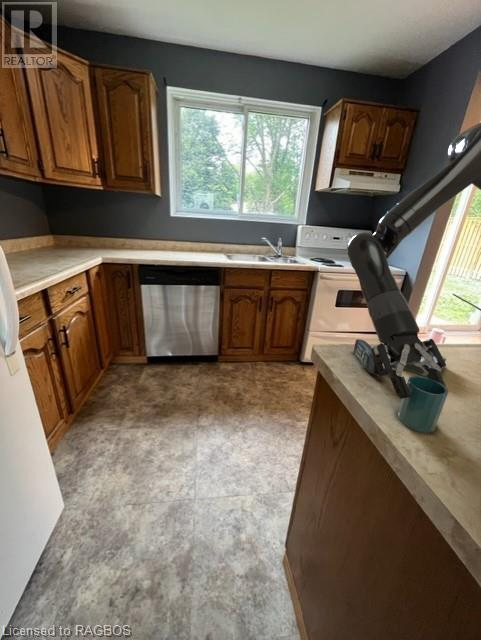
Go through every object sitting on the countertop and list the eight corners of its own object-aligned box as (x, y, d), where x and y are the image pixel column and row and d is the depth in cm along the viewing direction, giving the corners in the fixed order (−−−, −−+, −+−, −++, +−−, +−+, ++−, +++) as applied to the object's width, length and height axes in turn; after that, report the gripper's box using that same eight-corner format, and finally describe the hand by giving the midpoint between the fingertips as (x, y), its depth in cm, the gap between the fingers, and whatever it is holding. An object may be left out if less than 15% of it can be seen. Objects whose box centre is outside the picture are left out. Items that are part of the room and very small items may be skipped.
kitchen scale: (403, 353, 80) (406, 344, 79) (443, 366, 74) (447, 356, 73) (392, 366, 73) (395, 355, 72) (435, 381, 67) (439, 370, 66)
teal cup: (402, 406, 57) (413, 372, 54) (437, 421, 53) (450, 385, 50) (393, 420, 53) (404, 384, 50) (431, 438, 49) (445, 400, 46)
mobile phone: (354, 337, 78) (377, 362, 64) (364, 338, 78) (390, 362, 64) (351, 353, 80) (372, 380, 66) (361, 353, 80) (385, 381, 65)
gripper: (375, 310, 52) (409, 396, 46) (432, 307, 56) (470, 386, 49) (352, 326, 58) (379, 403, 52) (404, 322, 62) (435, 393, 56)
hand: (423, 395), depth 51 cm, fingers open, 8 cm apart
